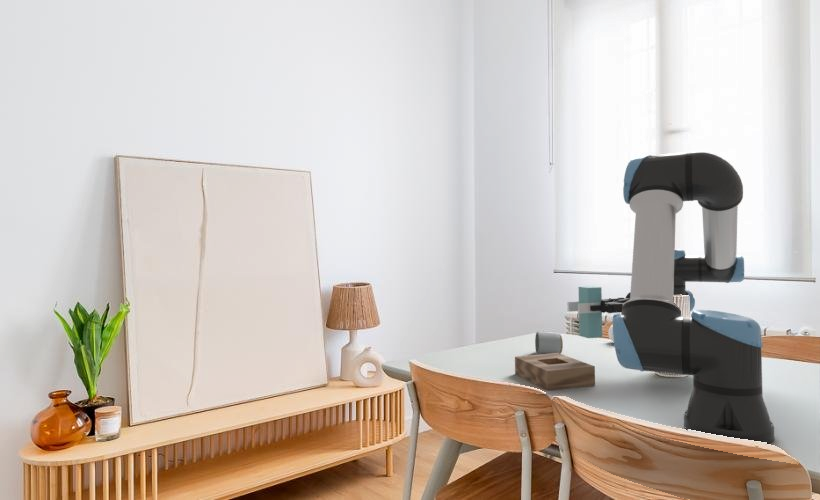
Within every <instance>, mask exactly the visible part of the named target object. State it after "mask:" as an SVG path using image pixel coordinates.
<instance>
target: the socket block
mask: <svg viewBox="0 0 820 500" xmlns="http://www.w3.org/2000/svg"><path fill="white" fill-rule="evenodd" d="M514 374H515V375H516V376H519V377H521V378H522V379H524V380H527V381H528V382H530V383H532V384H534V385H536V386H538V387H540V388H541V389H544V390H546V391H556V390H564V389H573V388H582V387H583V388H584V387H592V386H596V367H595V365H592V364H590V363H587V362H584V361H582V360H579V359H575V358H573V357H570V356H568V355H564V354H562V353H561V354H559V353H551V354H540V355H537V354H529V355H517V356H514Z"/></svg>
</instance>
